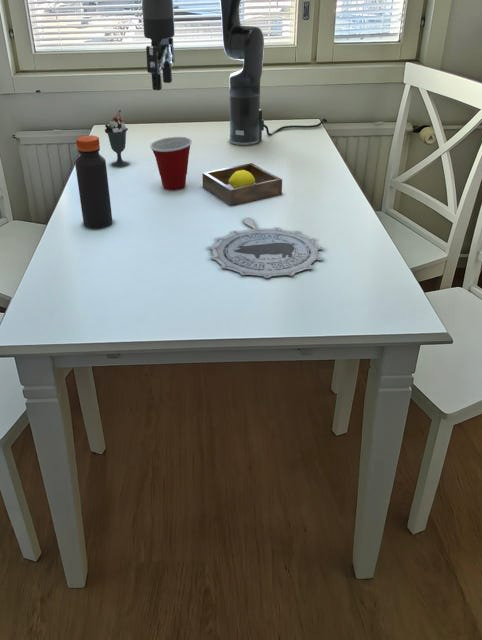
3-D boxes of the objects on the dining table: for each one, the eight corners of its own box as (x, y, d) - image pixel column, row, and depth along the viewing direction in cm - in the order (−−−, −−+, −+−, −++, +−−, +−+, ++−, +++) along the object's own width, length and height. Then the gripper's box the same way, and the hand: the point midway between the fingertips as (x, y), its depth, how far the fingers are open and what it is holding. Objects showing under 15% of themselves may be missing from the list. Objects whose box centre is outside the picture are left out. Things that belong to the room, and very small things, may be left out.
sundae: (133, 160, 188) (128, 108, 180) (128, 168, 182) (123, 114, 174) (111, 160, 188) (105, 108, 180) (106, 168, 183) (100, 114, 175)
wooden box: (251, 177, 173) (251, 162, 171) (281, 194, 162) (282, 179, 160) (202, 187, 168) (202, 172, 165) (230, 206, 156) (230, 190, 154)
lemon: (253, 186, 167) (253, 166, 164) (256, 193, 163) (257, 173, 160) (227, 188, 167) (226, 167, 164) (229, 195, 162) (229, 174, 159)
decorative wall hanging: (339, 272, 125) (301, 214, 150) (339, 271, 125) (301, 213, 150) (217, 282, 123) (199, 222, 148) (217, 281, 123) (199, 221, 148)
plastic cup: (152, 180, 173) (149, 136, 166) (192, 178, 173) (190, 134, 167) (153, 195, 164) (149, 149, 157) (194, 193, 164) (193, 146, 158)
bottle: (78, 223, 150) (66, 138, 139) (103, 215, 153) (93, 132, 142) (92, 232, 145) (80, 145, 134) (118, 224, 149) (108, 138, 138)
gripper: (163, 19, 147) (168, 93, 155) (181, 12, 158) (184, 80, 167) (133, 19, 148) (139, 92, 157) (153, 11, 160) (157, 79, 169)
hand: (162, 86), depth 162 cm, fingers open, 8 cm apart
